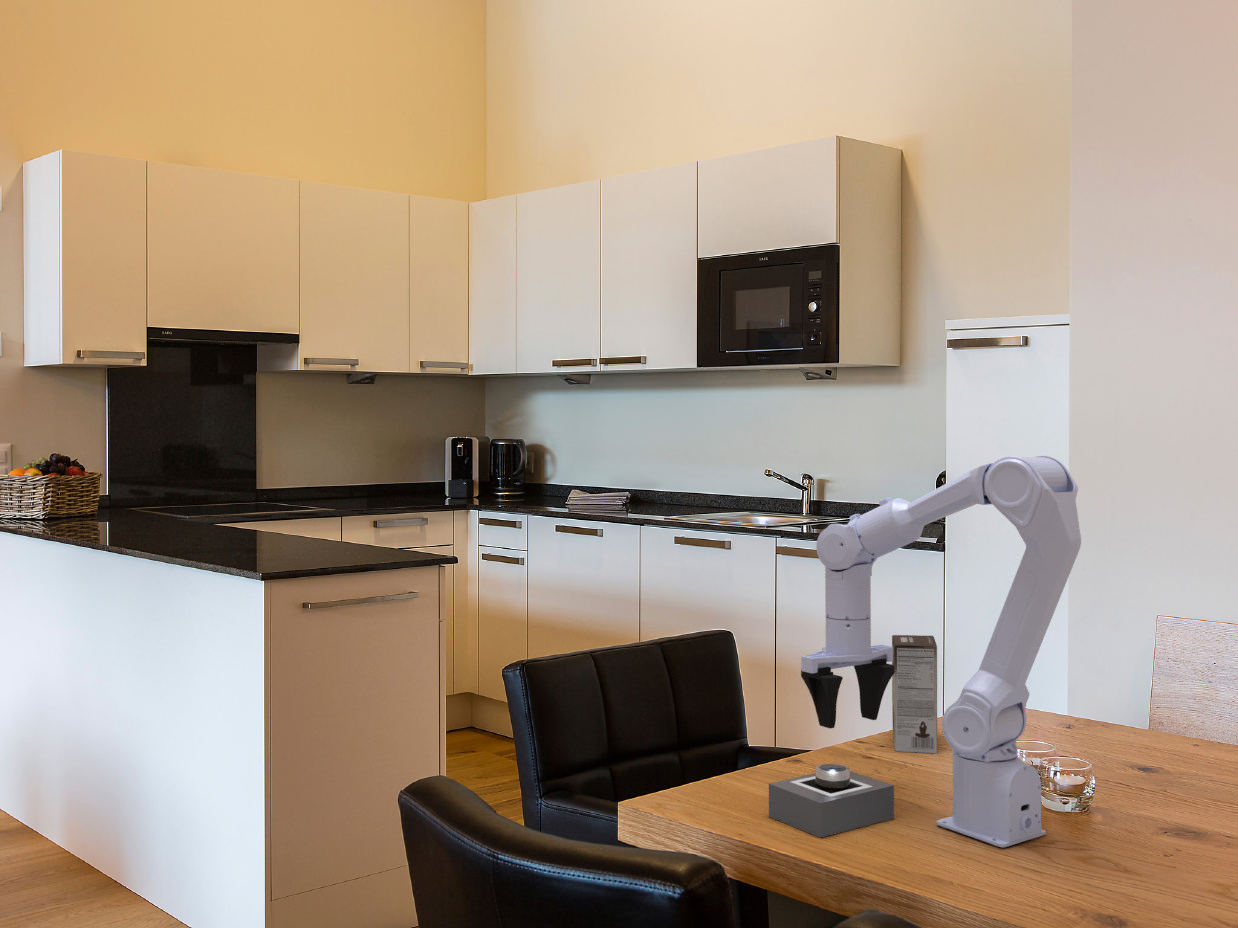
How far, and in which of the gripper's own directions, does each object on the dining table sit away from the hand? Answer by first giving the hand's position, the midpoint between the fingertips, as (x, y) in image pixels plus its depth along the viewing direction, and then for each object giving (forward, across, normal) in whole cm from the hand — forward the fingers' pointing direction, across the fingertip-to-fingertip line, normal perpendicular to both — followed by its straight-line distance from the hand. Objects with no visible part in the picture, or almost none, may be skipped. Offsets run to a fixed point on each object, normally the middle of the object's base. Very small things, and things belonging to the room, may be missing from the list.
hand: (848, 722), depth 139 cm
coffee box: (+10, -26, -12) cm, 30 cm away
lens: (+9, +8, +5) cm, 13 cm away
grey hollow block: (+9, +8, +5) cm, 13 cm away
